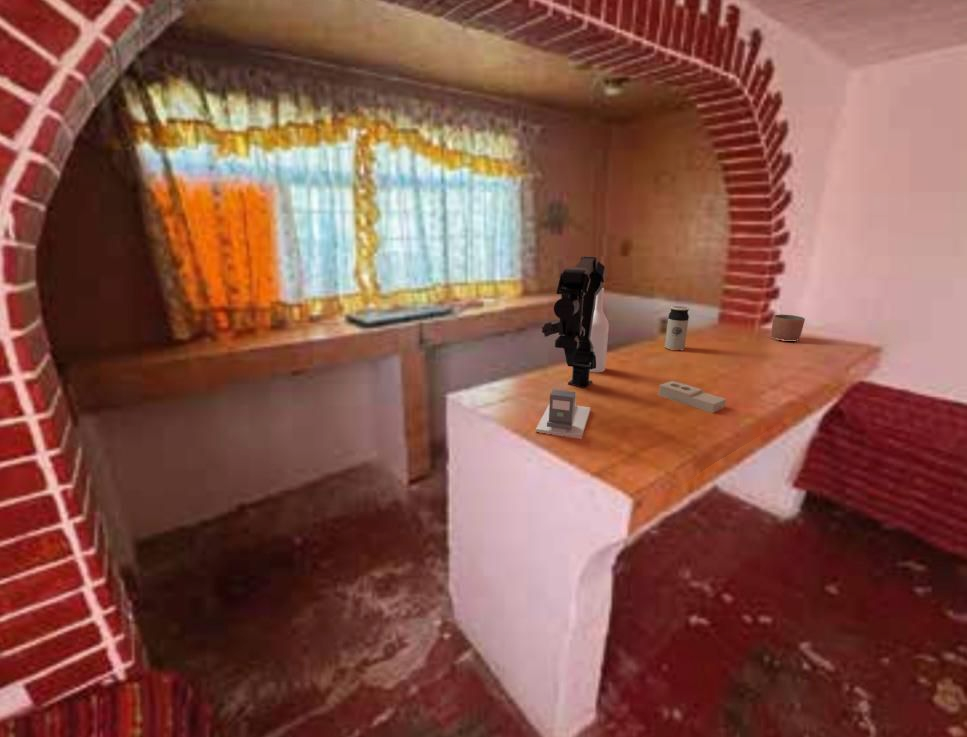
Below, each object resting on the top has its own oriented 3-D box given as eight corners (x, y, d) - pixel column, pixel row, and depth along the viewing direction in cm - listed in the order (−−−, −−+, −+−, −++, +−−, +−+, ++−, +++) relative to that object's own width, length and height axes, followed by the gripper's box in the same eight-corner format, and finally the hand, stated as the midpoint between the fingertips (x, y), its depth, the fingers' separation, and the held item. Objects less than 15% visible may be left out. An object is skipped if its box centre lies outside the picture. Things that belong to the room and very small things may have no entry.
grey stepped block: (714, 401, 141) (659, 384, 154) (712, 414, 142) (657, 396, 155) (726, 395, 145) (671, 380, 158) (724, 408, 146) (670, 391, 159)
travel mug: (667, 345, 215) (672, 305, 209) (686, 348, 210) (692, 307, 205) (662, 349, 209) (667, 307, 203) (681, 352, 204) (687, 310, 199)
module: (551, 418, 132) (552, 389, 129) (573, 421, 130) (575, 392, 127) (548, 425, 128) (549, 395, 125) (570, 428, 126) (573, 398, 123)
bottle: (578, 367, 183) (584, 287, 174) (596, 365, 186) (603, 286, 176) (590, 373, 176) (597, 290, 166) (609, 371, 178) (616, 289, 169)
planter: (799, 344, 218) (804, 321, 214) (768, 341, 224) (772, 317, 221) (800, 339, 228) (805, 316, 224) (770, 335, 234) (774, 313, 231)
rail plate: (549, 405, 146) (550, 396, 145) (590, 410, 143) (591, 401, 142) (535, 432, 128) (536, 421, 127) (581, 439, 124) (582, 428, 124)
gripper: (550, 305, 152) (548, 353, 156) (538, 317, 135) (535, 370, 139) (586, 308, 148) (583, 357, 153) (578, 320, 131) (574, 374, 136)
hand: (568, 364), depth 146 cm, fingers closed
